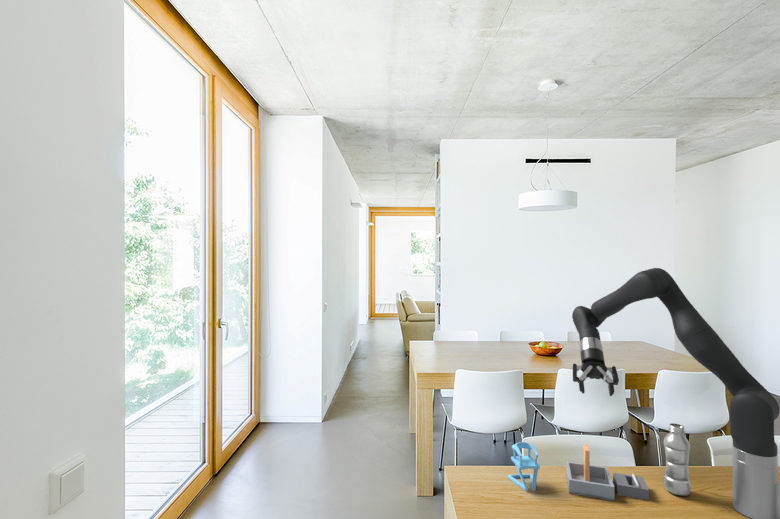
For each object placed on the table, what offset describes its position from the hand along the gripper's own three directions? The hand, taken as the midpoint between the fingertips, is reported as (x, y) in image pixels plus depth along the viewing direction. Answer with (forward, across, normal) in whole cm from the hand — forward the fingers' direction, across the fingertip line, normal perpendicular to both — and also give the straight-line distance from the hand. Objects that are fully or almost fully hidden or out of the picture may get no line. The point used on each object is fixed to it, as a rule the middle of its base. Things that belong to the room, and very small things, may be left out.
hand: (597, 393), depth 138 cm
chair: (+31, -23, +3) cm, 39 cm away
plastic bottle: (+25, +20, +10) cm, 33 cm away
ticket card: (+25, -5, +8) cm, 27 cm away
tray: (+28, -5, +7) cm, 29 cm away
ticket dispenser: (+27, +7, +8) cm, 29 cm away
